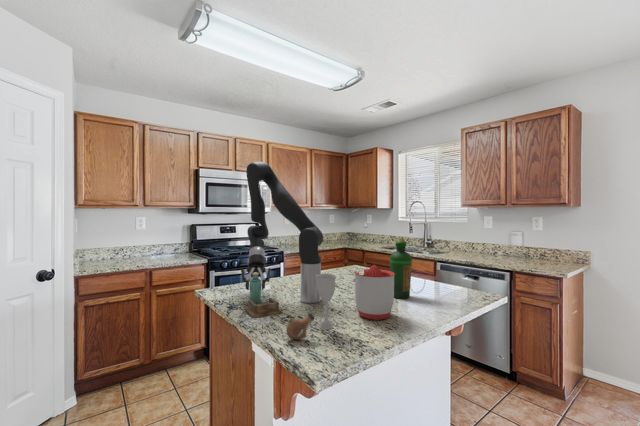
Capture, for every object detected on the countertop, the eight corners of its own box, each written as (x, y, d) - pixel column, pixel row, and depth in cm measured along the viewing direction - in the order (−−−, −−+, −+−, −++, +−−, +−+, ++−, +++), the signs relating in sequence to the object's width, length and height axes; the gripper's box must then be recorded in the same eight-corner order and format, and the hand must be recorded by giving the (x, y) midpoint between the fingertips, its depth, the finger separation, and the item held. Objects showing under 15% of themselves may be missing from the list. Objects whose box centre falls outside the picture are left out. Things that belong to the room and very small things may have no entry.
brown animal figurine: (312, 335, 103) (313, 311, 103) (315, 340, 99) (315, 315, 99) (285, 338, 101) (285, 313, 101) (287, 343, 97) (287, 317, 97)
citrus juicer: (366, 306, 136) (366, 259, 136) (402, 315, 123) (402, 264, 123) (342, 314, 125) (342, 263, 125) (379, 325, 112) (379, 269, 112)
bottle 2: (414, 300, 146) (415, 239, 146) (391, 299, 146) (392, 239, 146) (408, 294, 157) (409, 237, 156) (387, 293, 157) (387, 237, 157)
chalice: (338, 324, 113) (338, 274, 113) (333, 331, 107) (333, 278, 107) (319, 322, 115) (319, 273, 115) (312, 328, 109) (313, 276, 109)
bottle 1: (262, 300, 143) (262, 272, 143) (259, 304, 138) (259, 274, 138) (251, 300, 143) (252, 271, 143) (248, 303, 138) (248, 273, 138)
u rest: (271, 305, 136) (271, 296, 136) (282, 313, 126) (282, 303, 126) (244, 309, 130) (244, 299, 130) (252, 317, 120) (252, 307, 120)
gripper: (240, 253, 147) (237, 285, 135) (272, 253, 149) (271, 284, 137) (241, 263, 152) (239, 294, 140) (271, 262, 154) (271, 293, 143)
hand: (255, 289), depth 139 cm, fingers open, 5 cm apart
